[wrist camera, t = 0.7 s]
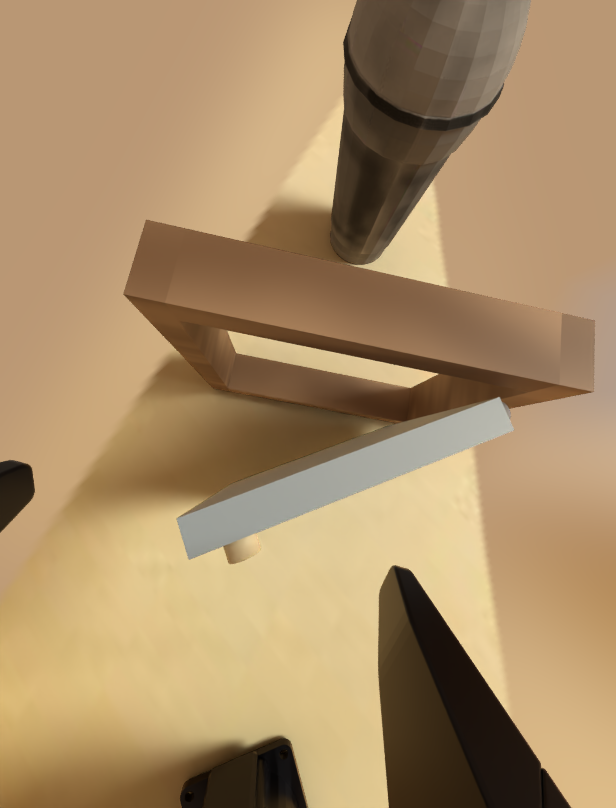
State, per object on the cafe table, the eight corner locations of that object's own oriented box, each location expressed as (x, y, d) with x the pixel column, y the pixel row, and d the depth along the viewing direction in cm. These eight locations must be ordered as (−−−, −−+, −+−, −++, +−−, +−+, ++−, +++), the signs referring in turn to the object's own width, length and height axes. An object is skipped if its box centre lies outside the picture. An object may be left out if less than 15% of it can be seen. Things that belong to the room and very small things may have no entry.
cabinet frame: (416, 427, 23) (593, 391, 10) (213, 388, 22) (123, 294, 9) (420, 394, 23) (594, 320, 10) (221, 354, 22) (146, 219, 9)
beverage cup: (293, 236, 24) (363, -679, 5) (353, 182, 26) (604, -707, 6) (362, 298, 24) (742, -396, 4) (419, 240, 25) (907, -490, 6)
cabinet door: (409, 452, 21) (546, 450, 10) (242, 517, 20) (199, 595, 9) (397, 422, 22) (519, 389, 11) (231, 483, 20) (176, 518, 9)
